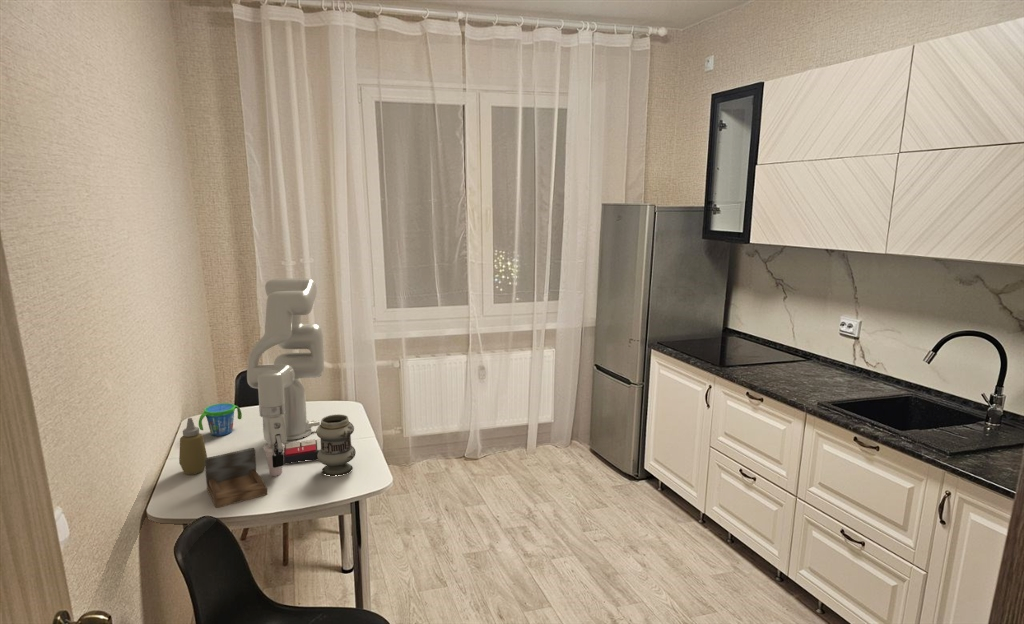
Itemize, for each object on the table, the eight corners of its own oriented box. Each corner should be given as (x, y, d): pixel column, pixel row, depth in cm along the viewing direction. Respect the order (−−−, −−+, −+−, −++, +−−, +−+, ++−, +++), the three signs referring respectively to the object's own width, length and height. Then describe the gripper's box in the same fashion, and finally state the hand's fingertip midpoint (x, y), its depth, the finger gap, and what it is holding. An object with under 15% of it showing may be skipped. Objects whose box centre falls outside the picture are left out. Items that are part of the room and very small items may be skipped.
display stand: (255, 477, 186) (253, 447, 184) (267, 494, 175) (265, 462, 173) (206, 489, 177) (204, 458, 176) (216, 507, 166) (213, 475, 165)
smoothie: (279, 478, 185) (276, 437, 182) (261, 476, 186) (258, 435, 184) (290, 470, 191) (288, 429, 189) (273, 468, 192) (270, 428, 190)
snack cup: (205, 442, 213) (203, 415, 211) (194, 434, 220) (192, 409, 218) (248, 431, 224) (246, 405, 222) (236, 424, 231) (235, 399, 229)
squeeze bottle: (187, 466, 193) (182, 414, 190) (212, 465, 194) (208, 414, 191) (175, 477, 185) (170, 423, 182) (201, 476, 186) (197, 422, 183)
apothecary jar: (317, 465, 195) (314, 414, 192) (354, 460, 199) (352, 410, 196) (319, 480, 184) (316, 426, 181) (358, 475, 188) (356, 422, 185)
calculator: (284, 442, 205) (328, 435, 210) (285, 454, 206) (329, 446, 211) (283, 455, 195) (329, 447, 200) (284, 466, 196) (331, 459, 201)
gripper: (292, 414, 180) (295, 469, 183) (276, 400, 194) (279, 451, 197) (267, 419, 176) (270, 475, 179) (252, 404, 189) (256, 456, 192)
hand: (275, 462), depth 188 cm, fingers closed on smoothie, 6 cm apart
